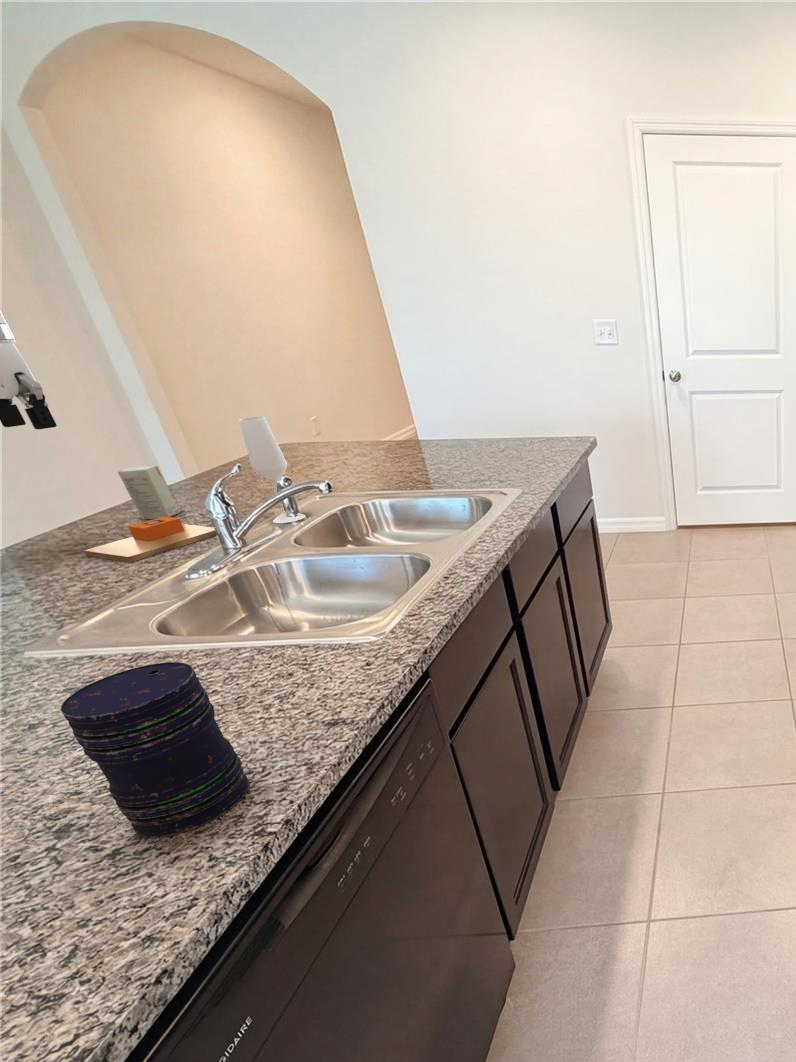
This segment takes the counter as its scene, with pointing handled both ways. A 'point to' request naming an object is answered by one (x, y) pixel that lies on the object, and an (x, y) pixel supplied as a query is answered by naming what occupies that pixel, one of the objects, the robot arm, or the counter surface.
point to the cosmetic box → (149, 492)
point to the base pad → (150, 544)
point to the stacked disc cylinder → (158, 747)
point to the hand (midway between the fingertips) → (30, 427)
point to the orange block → (156, 529)
